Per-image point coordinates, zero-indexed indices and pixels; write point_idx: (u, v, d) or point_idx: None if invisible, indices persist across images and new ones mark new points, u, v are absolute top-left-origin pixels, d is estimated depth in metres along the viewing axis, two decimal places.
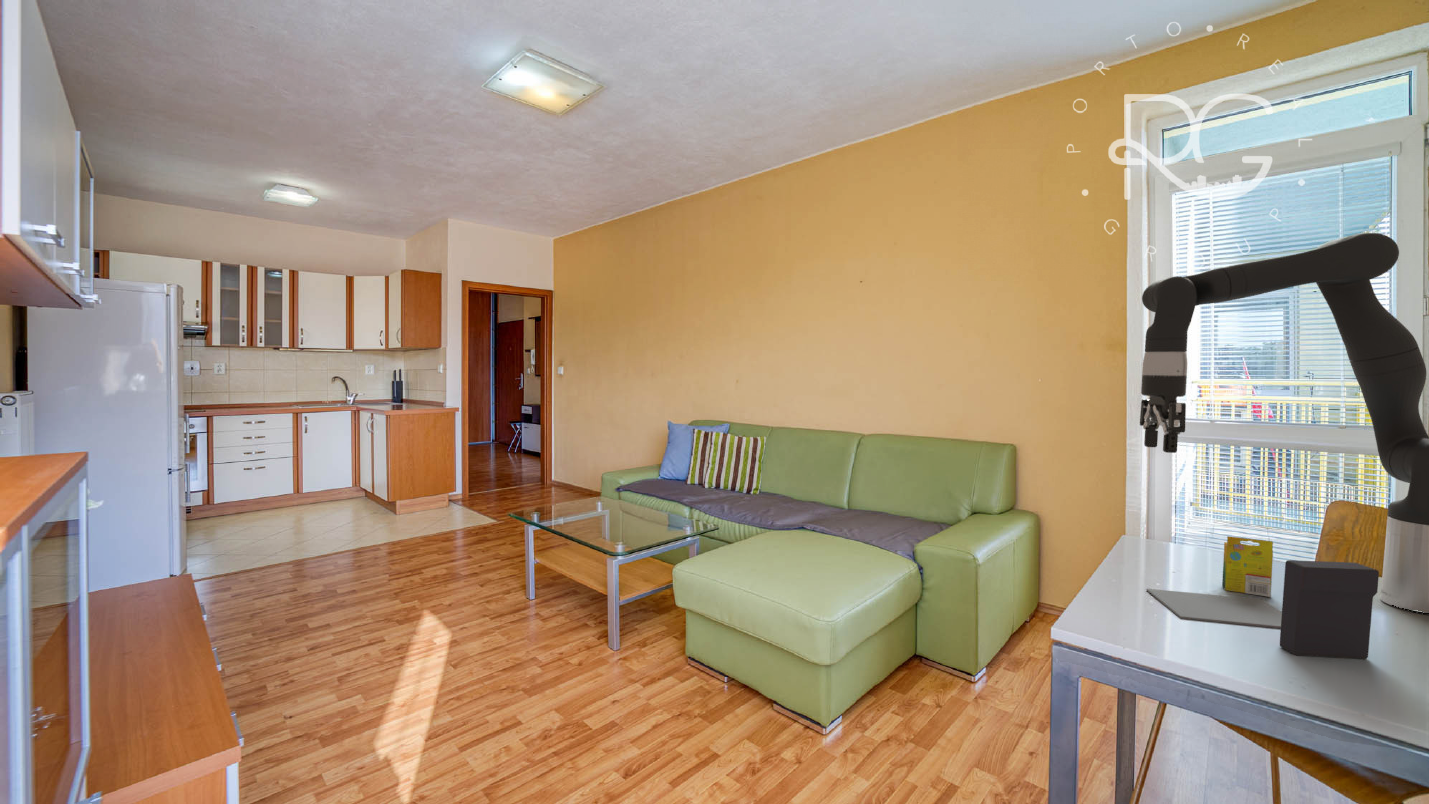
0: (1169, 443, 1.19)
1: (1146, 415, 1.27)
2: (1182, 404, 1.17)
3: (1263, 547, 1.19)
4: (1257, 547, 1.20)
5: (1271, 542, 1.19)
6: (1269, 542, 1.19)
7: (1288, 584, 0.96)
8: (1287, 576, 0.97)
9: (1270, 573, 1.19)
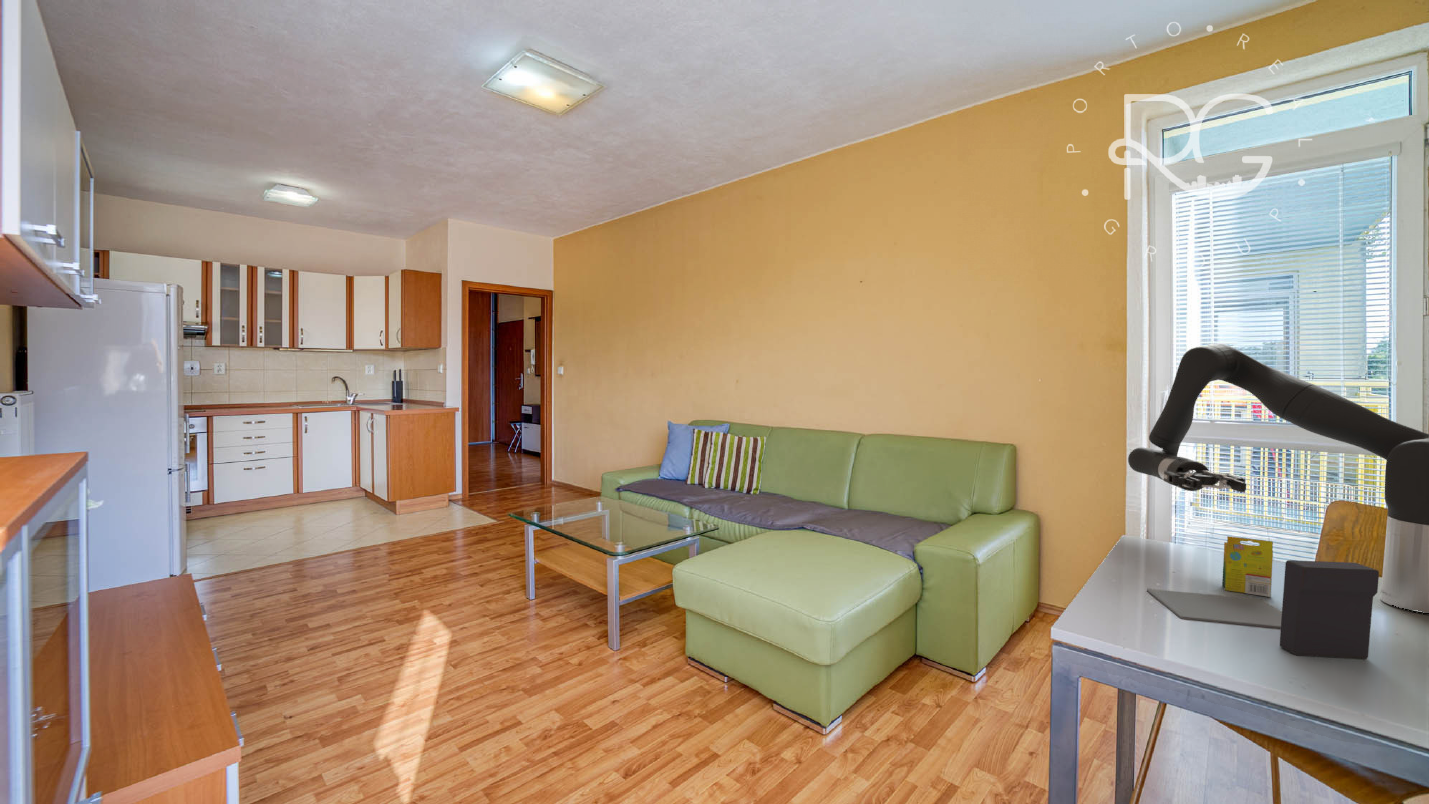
0: (1188, 485, 1.35)
1: (1216, 487, 1.38)
2: (1164, 473, 1.43)
3: (1263, 547, 1.19)
4: (1257, 547, 1.20)
5: (1271, 542, 1.19)
6: (1269, 542, 1.19)
7: (1288, 584, 0.96)
8: (1287, 576, 0.97)
9: (1270, 573, 1.19)
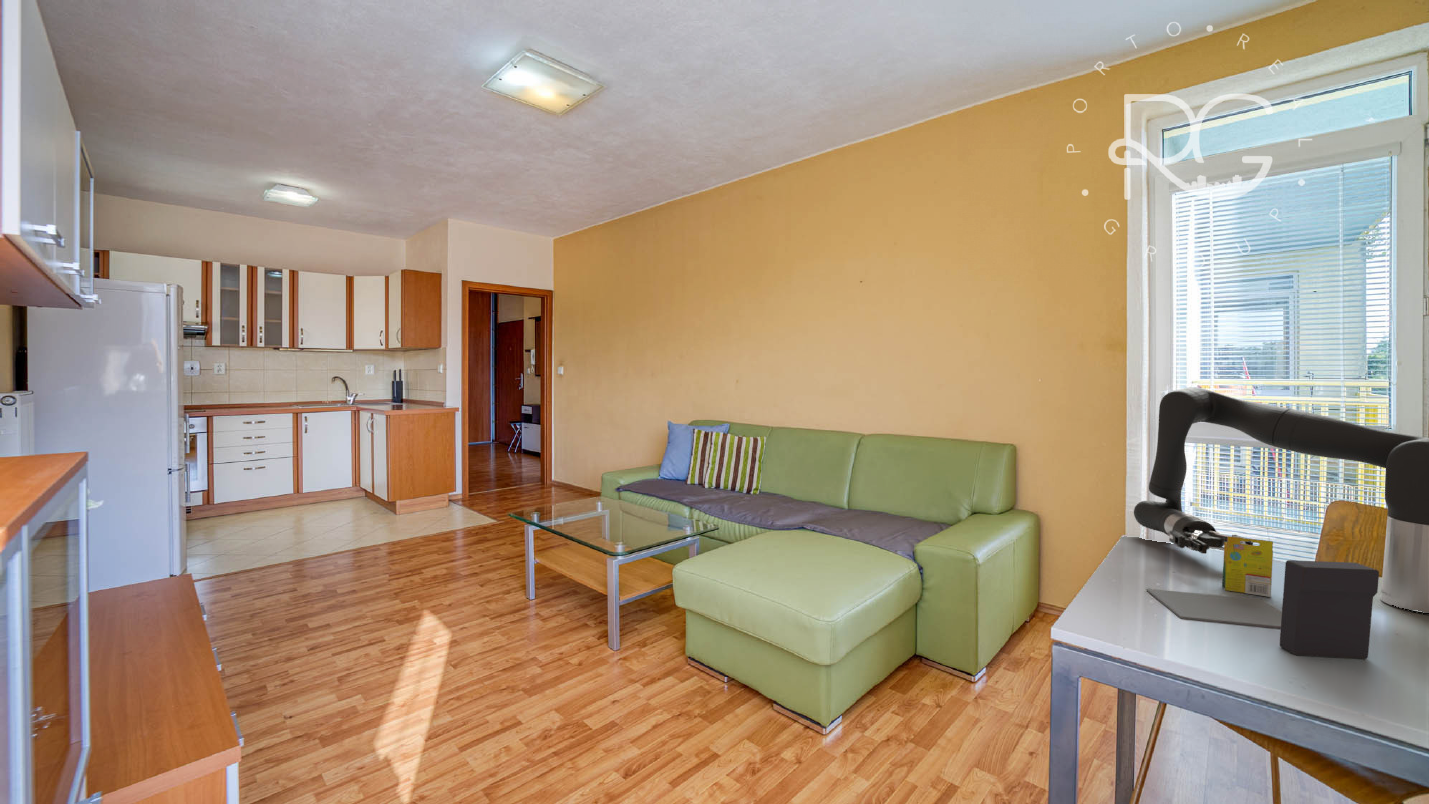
0: (1194, 548, 1.32)
1: None
2: (1170, 532, 1.40)
3: (1263, 547, 1.19)
4: (1257, 547, 1.20)
5: (1271, 542, 1.19)
6: (1269, 542, 1.19)
7: (1288, 584, 0.96)
8: (1287, 576, 0.97)
9: (1270, 573, 1.19)
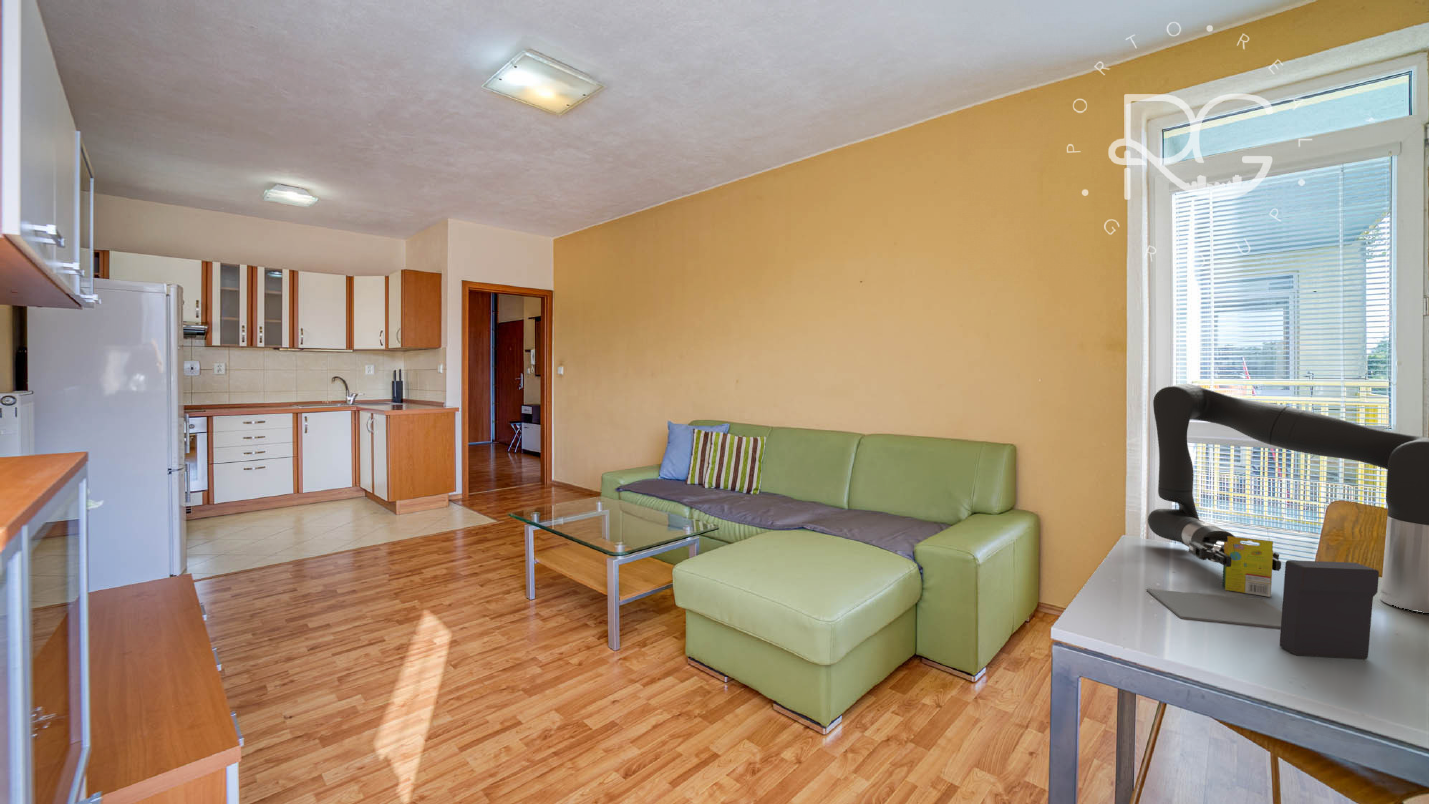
0: (1218, 561, 1.23)
1: None
2: (1189, 543, 1.31)
3: (1263, 547, 1.19)
4: (1257, 547, 1.20)
5: (1271, 542, 1.19)
6: (1269, 542, 1.19)
7: (1288, 584, 0.96)
8: (1287, 576, 0.97)
9: (1270, 573, 1.19)
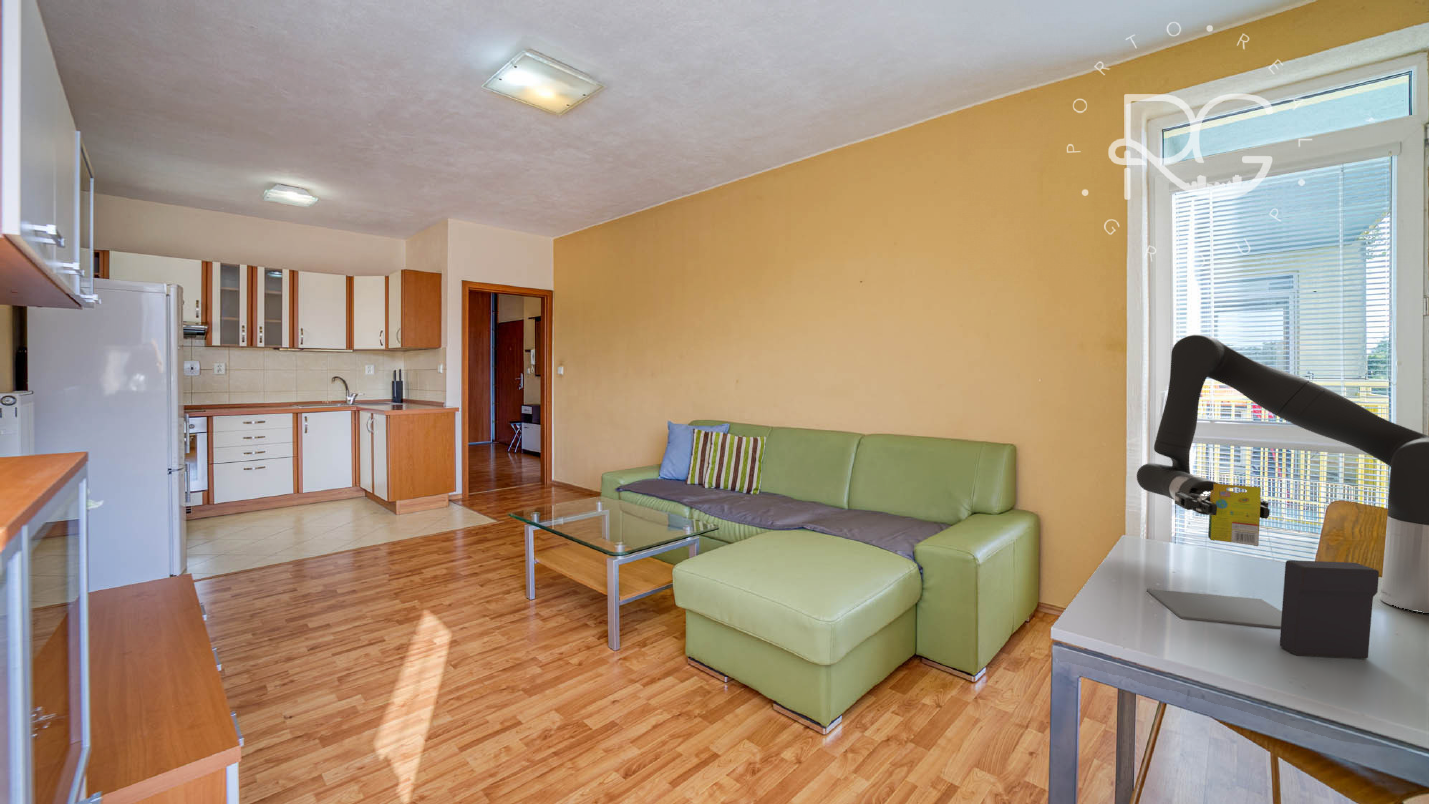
0: (1203, 510, 1.18)
1: None
2: (1175, 494, 1.26)
3: (1250, 493, 1.14)
4: (1244, 494, 1.14)
5: (1259, 488, 1.13)
6: (1257, 488, 1.13)
7: (1288, 584, 0.96)
8: (1287, 576, 0.97)
9: (1258, 521, 1.13)
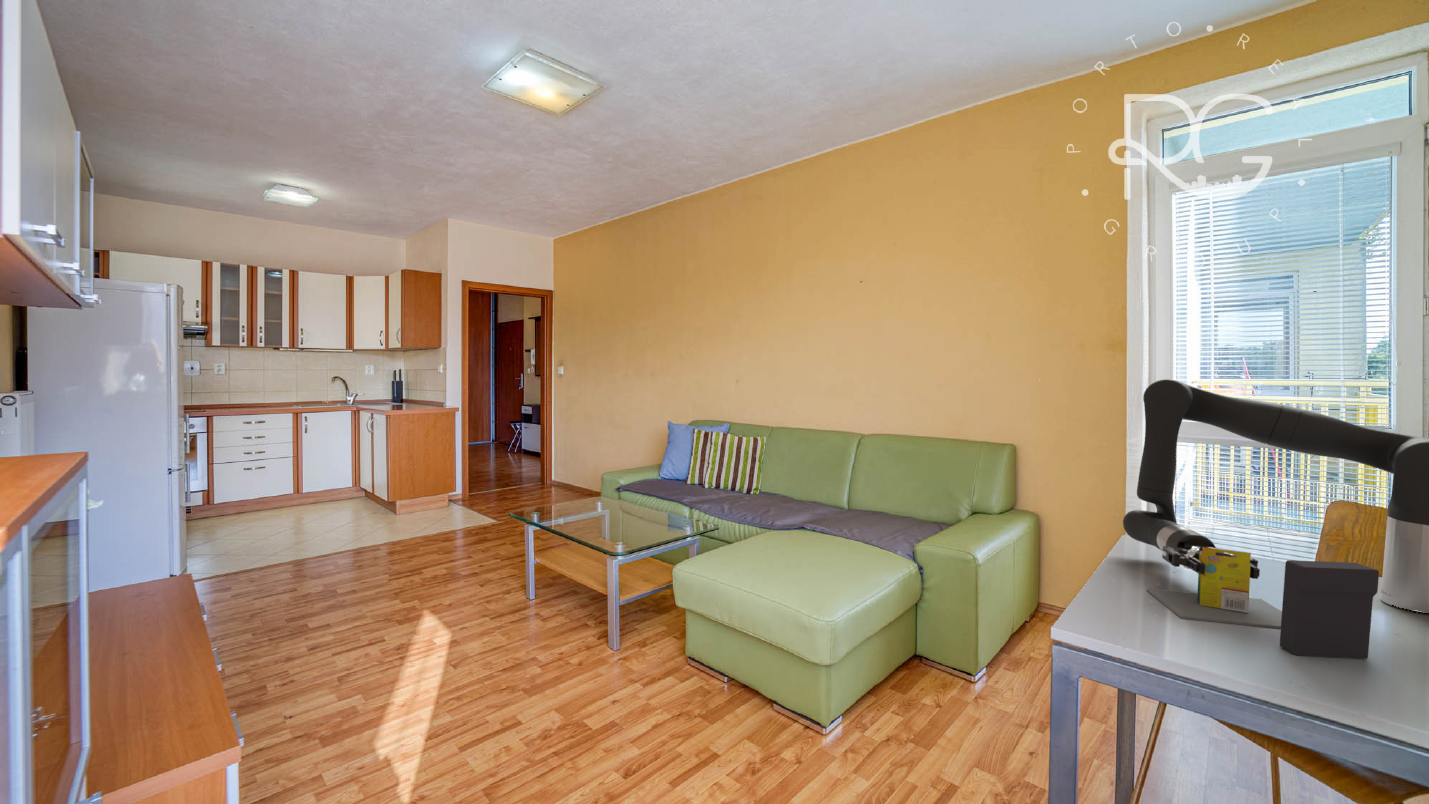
0: (1191, 568, 1.15)
1: None
2: (1163, 548, 1.23)
3: (1240, 559, 1.10)
4: (1234, 559, 1.11)
5: (1248, 554, 1.10)
6: (1246, 553, 1.10)
7: (1288, 584, 0.96)
8: (1287, 576, 0.97)
9: (1247, 587, 1.10)
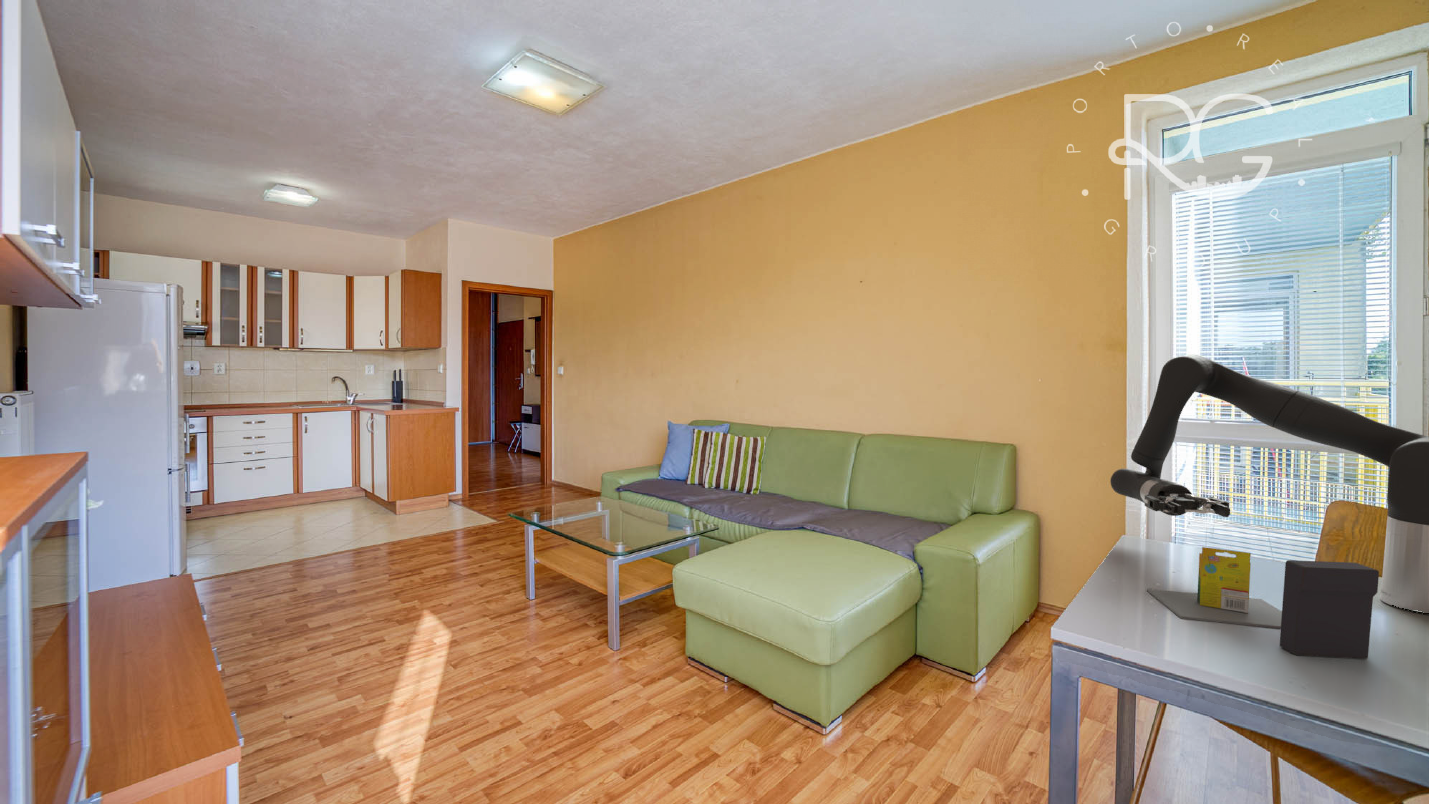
0: (1169, 510, 1.27)
1: None
2: None
3: (1240, 559, 1.10)
4: (1234, 559, 1.11)
5: (1248, 554, 1.10)
6: (1246, 553, 1.10)
7: (1288, 584, 0.96)
8: (1287, 576, 0.97)
9: (1247, 587, 1.10)
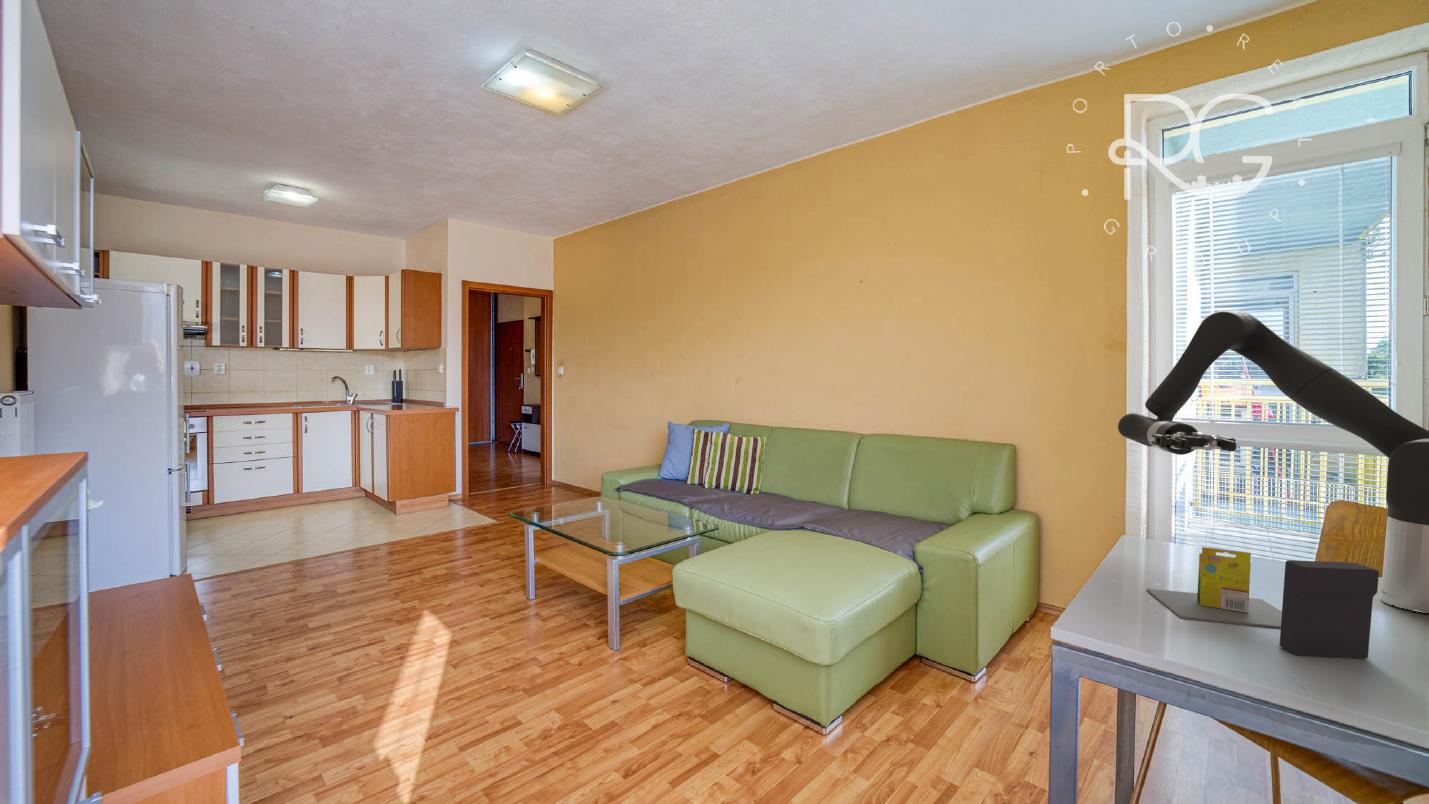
0: (1176, 446, 1.29)
1: (1206, 449, 1.32)
2: (1152, 435, 1.37)
3: (1240, 559, 1.10)
4: (1234, 559, 1.11)
5: (1248, 554, 1.10)
6: (1246, 553, 1.10)
7: (1288, 584, 0.96)
8: (1287, 576, 0.97)
9: (1247, 587, 1.10)
